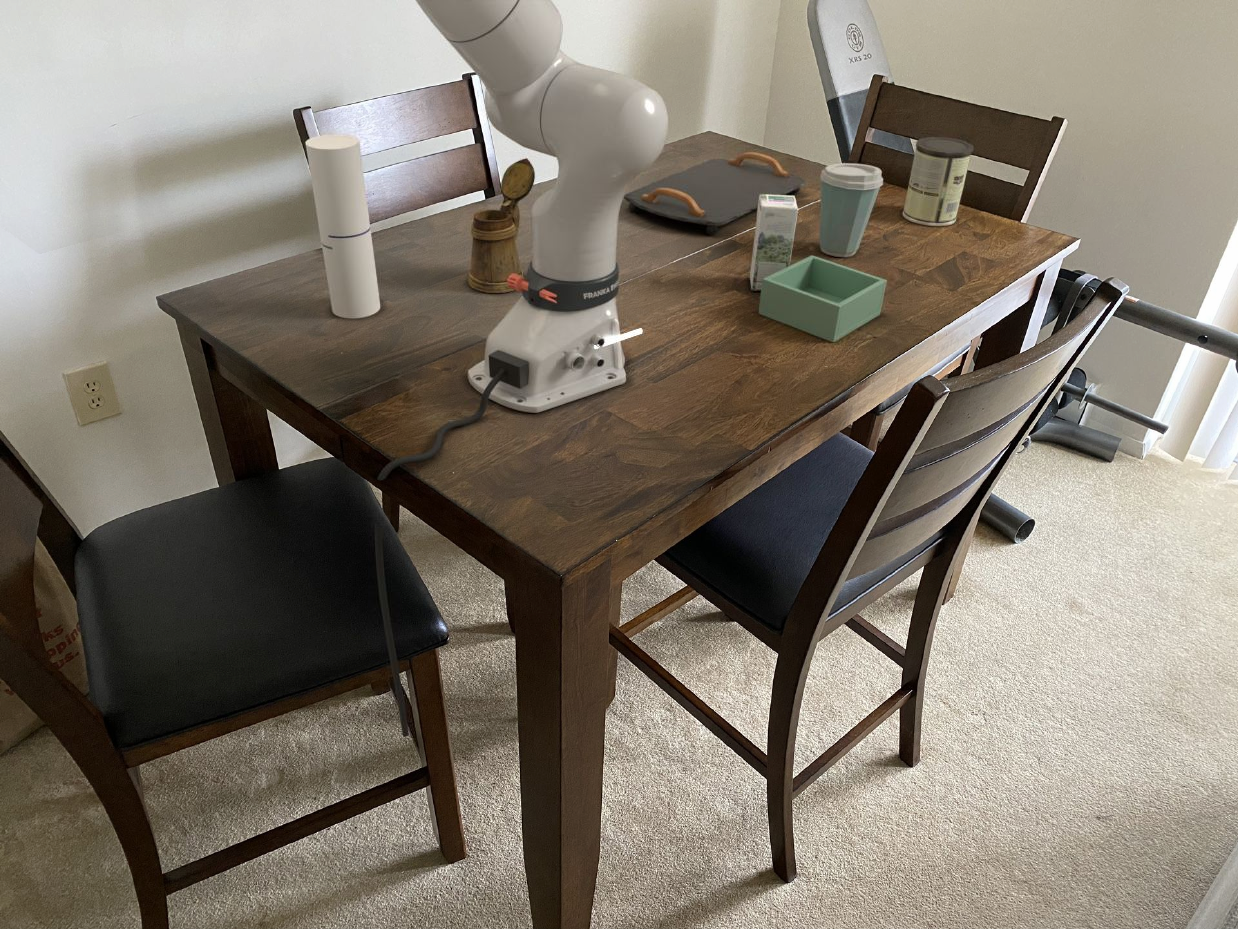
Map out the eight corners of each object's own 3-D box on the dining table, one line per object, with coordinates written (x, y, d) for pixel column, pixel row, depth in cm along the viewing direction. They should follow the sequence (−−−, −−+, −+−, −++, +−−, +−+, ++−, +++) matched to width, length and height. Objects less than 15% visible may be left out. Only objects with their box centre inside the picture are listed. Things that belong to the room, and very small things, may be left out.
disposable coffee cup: (796, 248, 168) (808, 164, 159) (834, 235, 174) (847, 153, 165) (843, 267, 161) (859, 180, 153) (881, 252, 167) (898, 168, 159)
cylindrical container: (368, 320, 139) (345, 151, 125) (323, 315, 140) (296, 146, 126) (387, 301, 145) (367, 136, 131) (344, 295, 146) (320, 132, 132)
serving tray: (711, 243, 168) (714, 210, 165) (610, 213, 180) (611, 181, 176) (813, 191, 194) (818, 161, 190) (720, 167, 205) (722, 138, 202)
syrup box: (783, 279, 156) (795, 193, 148) (786, 294, 151) (798, 206, 143) (749, 277, 157) (759, 191, 148) (751, 292, 152) (761, 204, 143)
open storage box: (833, 342, 138) (839, 306, 134) (758, 313, 145) (762, 278, 142) (880, 314, 146) (887, 280, 143) (806, 288, 153) (811, 255, 150)
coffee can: (911, 204, 189) (926, 133, 181) (962, 215, 184) (980, 142, 176) (894, 219, 182) (909, 145, 174) (947, 230, 177) (964, 155, 169)
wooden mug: (551, 271, 156) (550, 163, 146) (499, 298, 147) (494, 185, 137) (510, 258, 160) (506, 152, 150) (457, 284, 151) (448, 173, 141)
